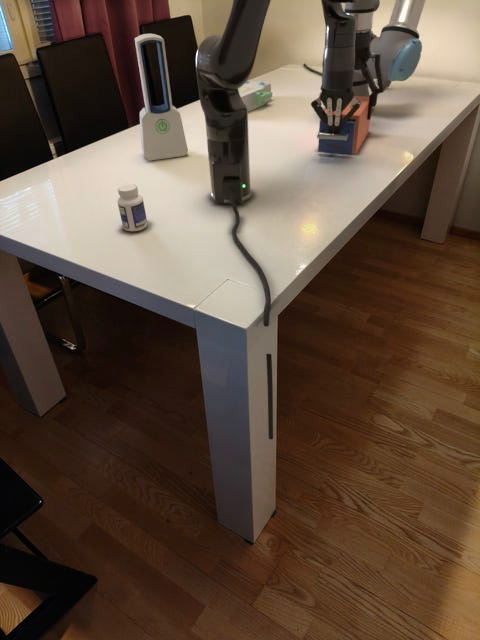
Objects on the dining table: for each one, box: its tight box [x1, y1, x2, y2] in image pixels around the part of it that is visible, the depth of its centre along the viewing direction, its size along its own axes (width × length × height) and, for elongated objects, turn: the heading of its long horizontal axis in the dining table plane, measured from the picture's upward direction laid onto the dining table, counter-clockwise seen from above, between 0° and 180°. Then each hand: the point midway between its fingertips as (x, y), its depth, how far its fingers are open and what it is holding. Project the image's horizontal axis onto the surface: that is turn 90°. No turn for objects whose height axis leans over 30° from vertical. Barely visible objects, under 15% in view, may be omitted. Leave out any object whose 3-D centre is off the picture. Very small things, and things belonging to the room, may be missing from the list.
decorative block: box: [238, 79, 273, 113], centre depth 175 cm, size 26×6×20 cm
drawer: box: [316, 119, 356, 155], centre depth 134 cm, size 23×9×8 cm, turn 159°
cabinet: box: [323, 96, 371, 155], centre depth 139 cm, size 19×10×10 cm, turn 159°
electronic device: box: [134, 33, 189, 162], centre depth 131 cm, size 12×8×30 cm, turn 105°
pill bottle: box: [117, 182, 148, 232], centre depth 102 cm, size 5×5×9 cm
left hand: (333, 139), depth 128 cm, fingers closed
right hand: (349, 117), depth 143 cm, fingers closed on cabinet, 10 cm apart
